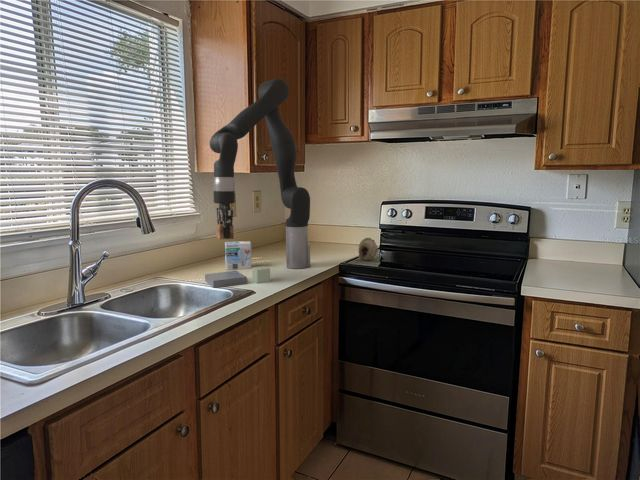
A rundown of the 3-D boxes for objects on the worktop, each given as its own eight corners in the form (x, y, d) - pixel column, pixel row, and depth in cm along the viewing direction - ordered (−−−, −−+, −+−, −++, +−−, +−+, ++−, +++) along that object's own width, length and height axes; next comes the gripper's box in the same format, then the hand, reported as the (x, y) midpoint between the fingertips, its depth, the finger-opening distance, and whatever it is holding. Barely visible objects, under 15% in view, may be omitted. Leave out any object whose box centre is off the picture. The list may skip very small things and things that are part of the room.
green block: (265, 279, 169) (265, 266, 168) (270, 281, 164) (270, 268, 163) (252, 280, 166) (252, 267, 166) (257, 283, 162) (257, 270, 161)
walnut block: (229, 237, 167) (229, 223, 166) (233, 238, 162) (233, 225, 162) (216, 237, 165) (216, 224, 164) (219, 239, 160) (219, 225, 160)
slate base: (236, 276, 172) (236, 270, 172) (246, 283, 162) (246, 276, 161) (205, 280, 167) (204, 274, 166) (213, 287, 156) (213, 280, 156)
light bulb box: (226, 270, 184) (225, 244, 183) (225, 267, 191) (224, 241, 189) (252, 268, 187) (251, 242, 185) (250, 265, 193) (249, 240, 192)
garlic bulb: (357, 257, 208) (357, 236, 207) (376, 257, 208) (376, 236, 206) (358, 261, 199) (358, 239, 197) (378, 261, 198) (378, 239, 197)
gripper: (240, 190, 157) (240, 239, 159) (229, 189, 169) (229, 234, 172) (218, 190, 153) (219, 240, 155) (209, 189, 166) (209, 235, 168)
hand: (224, 236), depth 164 cm, fingers closed on walnut block, 5 cm apart
